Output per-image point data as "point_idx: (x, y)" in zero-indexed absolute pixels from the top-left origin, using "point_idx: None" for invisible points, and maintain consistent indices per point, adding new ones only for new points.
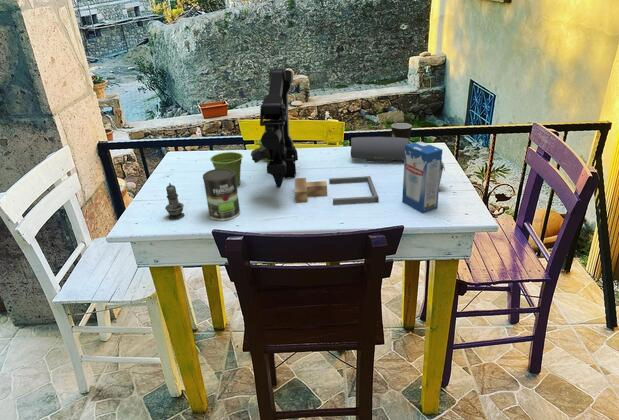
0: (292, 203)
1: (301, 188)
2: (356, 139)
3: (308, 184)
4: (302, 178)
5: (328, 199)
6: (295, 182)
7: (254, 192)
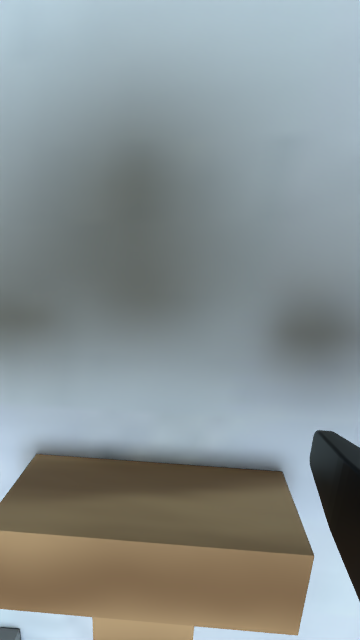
0: (28, 433)
1: (58, 580)
2: None
3: (138, 633)
4: (288, 609)
5: (71, 618)
6: (206, 550)
7: (293, 117)
